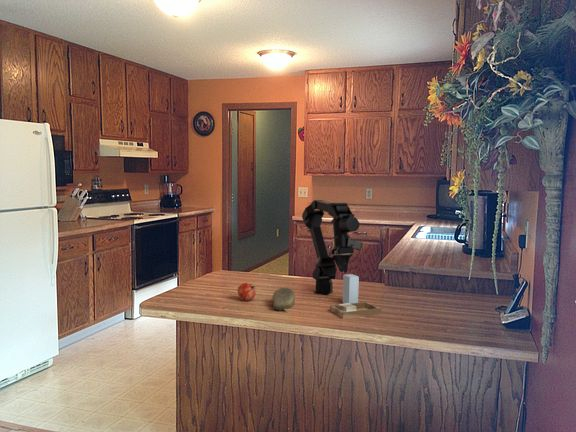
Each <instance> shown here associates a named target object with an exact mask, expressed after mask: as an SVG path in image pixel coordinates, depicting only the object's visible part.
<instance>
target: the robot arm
mask: <svg viewBox="0 0 576 432" xmlns="http://www.w3.org/2000/svg"><path fill="white" fill-rule="evenodd" d="M324 212H326V213H328V215H329V216H330V217H332V219H331V220H330V224H332V226H333V227H332V229H333V236H332V238H333V241H334V242H333V243H334V245H333V248H332V249H331V250H330V251H331V252H330V253H331V256H329V253H328V250H327V247H326V242H325V238H324V235H323V231H322V228H321V225H322V222H323V217H324V215H325V213H324ZM301 216H302V218H301V219H302V220H303V223H304V226H305V227H307V229H308V230H309V232H310V235H311V239H312V243H313V247H314V250H315V254H316V262H315V269H314V270H313V271H312V273H311V274H312V279H314V280H315V291H314V292H313V294H318V295H330V294H331V293H333V292H334V291H333V290H334V287H333V281H332V280H335V278H336V276H337V268H338V270H339V272H340V273H342V272H343V273H347V272H348V268H349V261H350V258H352V256H354V253H355V251H354V249H355V250H356V251H362V249H363V244H364V242H362V241H359V240H358V239H355V238H353V239H351V237H350V235H349V233H353V232H357V231H358V230H359V228H360V221H359V220H358V218H357V217H356V216H355V214H354V213H353V212H352V211H351V209H350V207H349V205H348V204H347V202H330V201H326V200H324V199H316V200H315V199H314V200H312V202H311V203H310V204H309V205H308V206H307V207H305V208H304V210H303V212H302V215H301Z"/></svg>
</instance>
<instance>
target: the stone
mask: <svg viewBox="0 0 576 432" xmlns="http://www.w3.org/2000/svg"><path fill="white" fill-rule="evenodd" d="M295 303H296V293H295V291H294V290H293V289H291V288H289V287H281V288H279V289H277V290H275V291H274V292H273V295H272V307H273V308H274V310H276V311H279V312H281V311H285V310H287V309H291V308H292V307H294V305H295Z"/></svg>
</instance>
